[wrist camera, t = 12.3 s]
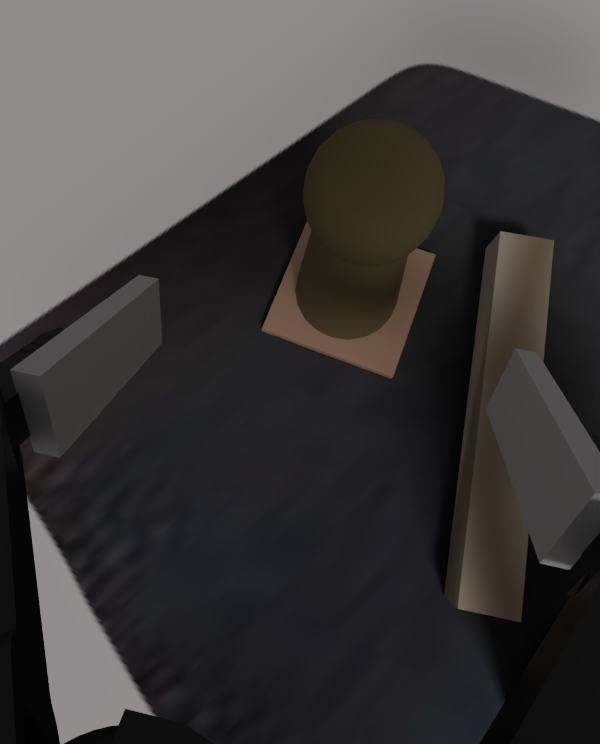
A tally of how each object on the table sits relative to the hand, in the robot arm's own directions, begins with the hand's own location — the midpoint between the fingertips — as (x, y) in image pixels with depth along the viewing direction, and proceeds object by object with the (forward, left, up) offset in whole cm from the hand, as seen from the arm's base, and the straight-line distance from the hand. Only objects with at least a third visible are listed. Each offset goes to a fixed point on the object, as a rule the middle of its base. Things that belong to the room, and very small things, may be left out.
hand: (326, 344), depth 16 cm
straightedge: (-10, -2, -9) cm, 13 cm away
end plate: (0, -6, -9) cm, 11 cm away
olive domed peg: (0, -6, -8) cm, 10 cm away
